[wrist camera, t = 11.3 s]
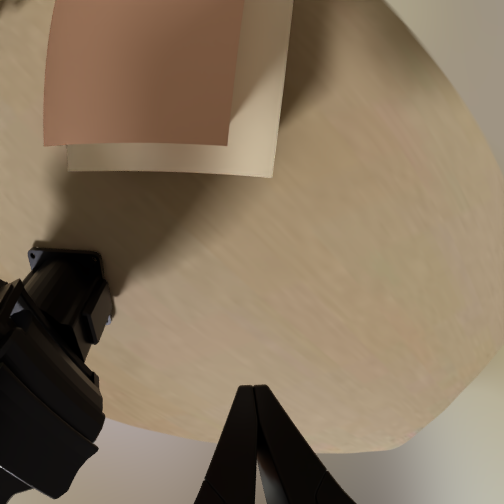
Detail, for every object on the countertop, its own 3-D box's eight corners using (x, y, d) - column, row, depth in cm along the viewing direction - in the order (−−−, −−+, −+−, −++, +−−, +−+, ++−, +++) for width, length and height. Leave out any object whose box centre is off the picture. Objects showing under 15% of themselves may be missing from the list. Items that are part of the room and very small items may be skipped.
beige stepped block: (111, 147, 17) (68, 171, 12) (126, -19, 12) (90, -54, 6) (257, 152, 18) (272, 177, 13) (277, -17, 13) (299, -58, 8)
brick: (106, 124, 11) (44, 146, 7) (124, -28, 8) (77, -76, 3) (226, 126, 12) (227, 146, 7) (246, -30, 8) (259, -91, 4)
